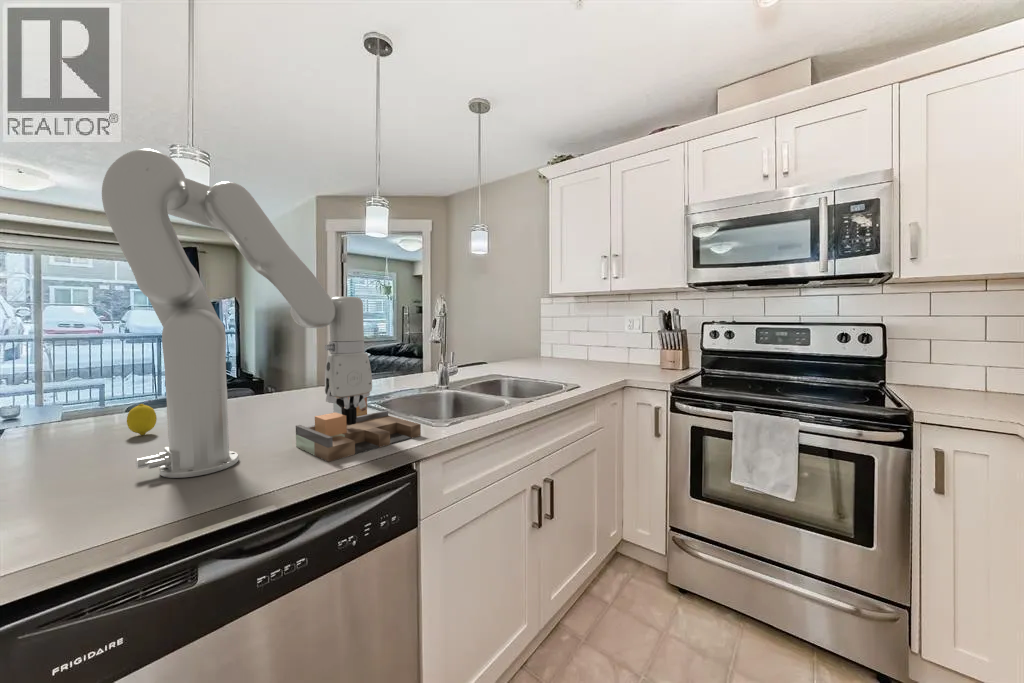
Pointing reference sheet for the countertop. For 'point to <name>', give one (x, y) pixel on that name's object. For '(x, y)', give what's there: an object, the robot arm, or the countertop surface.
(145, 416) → the lemon
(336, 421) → the block
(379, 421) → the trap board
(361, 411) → the small box
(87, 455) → the countertop surface
